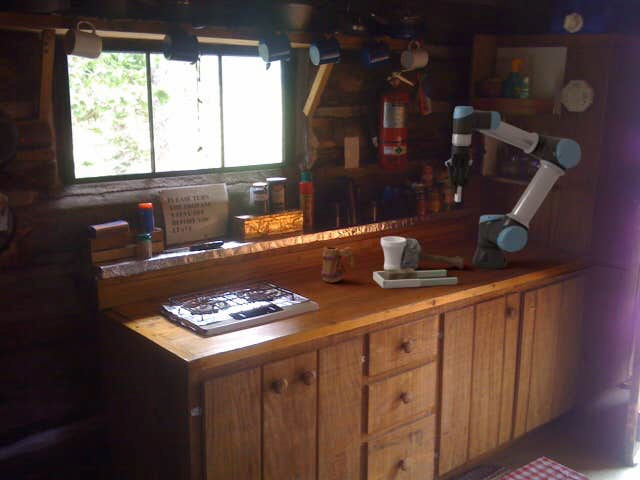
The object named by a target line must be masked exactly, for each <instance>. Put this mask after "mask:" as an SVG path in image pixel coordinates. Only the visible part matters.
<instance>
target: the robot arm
mask: <svg viewBox="0 0 640 480" xmlns="http://www.w3.org/2000/svg"><path fill="white" fill-rule="evenodd" d="M452 117H453V122H452V123H453V126H452V140H451V143H452V145H451V156H450V157H449V159H448V160H446V161H444V164H445V166H446V170H447V177H448V183H449V184H450V185H452V186H453V190H452V191H453V192H452V193H453V194H454V201H455V202H456V203H461V201H462V194H464V187H465V186H466V185H469V182H470V178H471V177H472V175H471V174H472V172H473V168H474V166H475V165H476V161H473V160H472V158H471V143H472V133H473V131H477V132H479V133H482V134H484V135H486V136H489V137H492V138H495V139H497V140H500V141H502V142H504V143H507V144H509V145H511V146H514V147H516V148H520V149H521V150H523V151H524V153H526V154H528V155H530V156H532V157H534V158H536V159H538V160H540V161H539V163H540V167H539V169H538V170H537V172H536V173H535V175H533V178H532V180H531V181H530V183H529V184H528V186H527V187H526V189H525V190H524V192H523V193H522V195H521V196H520V198H519V200H518V201H517V203H516V205H514V208H512V211H511V212H510V213H506V214H484V215H481V216H480V217H479V222H478V237H477V238H478V239H477V249H476V250H475V253H474V255H473V258H472V265H473V266H475V267H478V268H481V269H488V270H499V269H501V270H502V269H505V268H507V265H508V260H507V257H506V252H508V253H509V252H510V253H514V252H518V251H520V250H521V249H523V248H524V247H525V246H526V244H527V241H528V232H529V230H530V224H529V223H530V221H531V220H532V218H533V217H534V216H535V214H536V213H537V211H538V209H539V208H540V206H541V205H542V203H543V201H544V200H545V198H546V197H547V195H548V194H549V193H550V191H551V189H552V187H553V186H554V185H555V183H556V182H557V180H558V178H559V177H561V176H565V174H566V173H567V171H568V170H569V169H571V168H575V167H576V166H577V165H578V164H579V162H580V161H581V157H582V151H581V147H580V144H578V143H577V141H575V140H572V139H570V138H567V137H566V138H563V137H557V136H549V135H543V134H539V133H537V132H532V133H530V132H528V131H526V130H523V129H521V128H519V127H516V126H515V125H511V124H509V123H506V122H504V121H502V119H501V115H500V113H499V112H498V111H494V110H490V111H489V110H488V111H485V110H479V109H478V110H477V109H474V107H473V106H471V105H470V106H466V105H458V106H455V108H454V112H453V116H452ZM452 165H453V167H452ZM453 169H454V170H453ZM505 251H506V252H505Z"/></svg>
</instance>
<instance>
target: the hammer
mask: <svg viewBox="0 0 640 480" xmlns="http://www.w3.org/2000/svg"><path fill="white" fill-rule="evenodd" d="M405 239H406V241H407V242H406V246H405V247H404V251H403V254H402V259H401V265H400V266H401V269H413V270H415V271H416V270H417V269H418V267H419V264H418V263H419V262H422V261H423V262H440V263H444V264H447V265H450V266H452V267H454V268H457V269H459V270H463V269H464V266H465V258H463V257H461V256H460V255H457V256H453V257H447V256H443V255H435V254H431V253H427V252H425V251H422V247H423V246H421V245H420V244H419V240H417V239H416V238H409V237H407V238H405Z"/></svg>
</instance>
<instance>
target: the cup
mask: <svg viewBox="0 0 640 480" xmlns="http://www.w3.org/2000/svg"><path fill="white" fill-rule="evenodd" d="M406 239H407V238H405V237H403V236H402V237H401V236H393V235H392V236H384V237H381V238H380V246H381V247H382V250H383V255H384V264H383V271H384V270H391V269H401V266H400V265H401V259H402V254H403V251H404V247H405V246H406V242H407V241H406Z"/></svg>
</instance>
